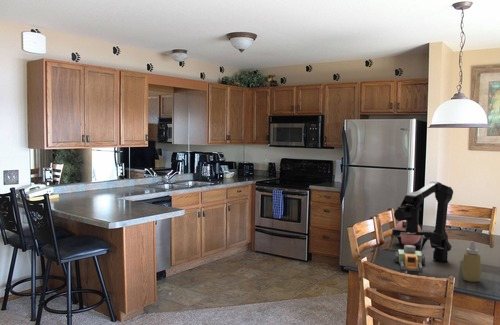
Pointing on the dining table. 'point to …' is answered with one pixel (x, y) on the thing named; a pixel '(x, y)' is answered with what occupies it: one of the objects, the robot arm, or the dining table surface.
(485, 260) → the dining table surface
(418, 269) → the chute bracket
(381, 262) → the dining table surface
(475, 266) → the squeeze bottle
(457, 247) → the dining table surface
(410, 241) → the pink rounded piece
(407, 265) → the chute
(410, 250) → the mower deck
